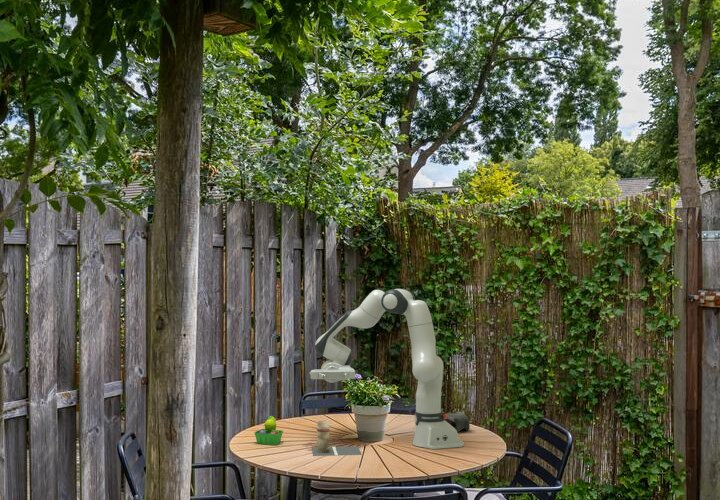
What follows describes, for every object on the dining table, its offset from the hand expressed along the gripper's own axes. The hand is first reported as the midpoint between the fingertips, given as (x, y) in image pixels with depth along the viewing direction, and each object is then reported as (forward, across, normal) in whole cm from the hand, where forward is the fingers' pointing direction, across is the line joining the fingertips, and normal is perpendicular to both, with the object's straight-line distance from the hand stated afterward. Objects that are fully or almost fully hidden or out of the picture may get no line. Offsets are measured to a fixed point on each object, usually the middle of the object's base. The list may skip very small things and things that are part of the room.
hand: (334, 376), depth 283 cm
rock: (-27, +62, +30) cm, 74 cm away
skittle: (+13, -5, +29) cm, 32 cm away
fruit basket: (-9, -28, +30) cm, 42 cm away
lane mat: (+13, 0, +30) cm, 33 cm away
